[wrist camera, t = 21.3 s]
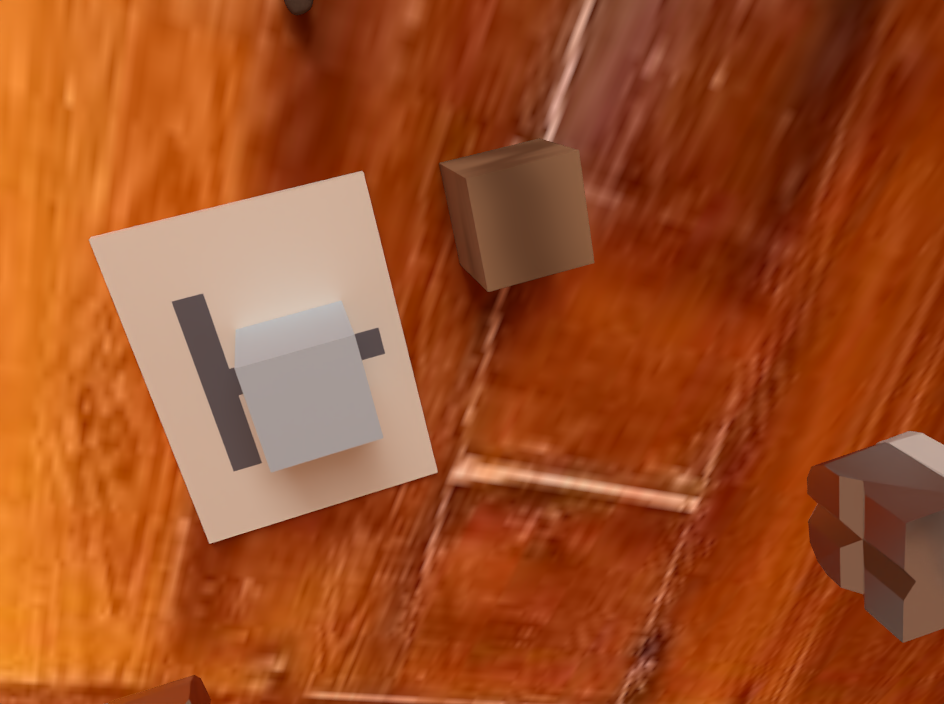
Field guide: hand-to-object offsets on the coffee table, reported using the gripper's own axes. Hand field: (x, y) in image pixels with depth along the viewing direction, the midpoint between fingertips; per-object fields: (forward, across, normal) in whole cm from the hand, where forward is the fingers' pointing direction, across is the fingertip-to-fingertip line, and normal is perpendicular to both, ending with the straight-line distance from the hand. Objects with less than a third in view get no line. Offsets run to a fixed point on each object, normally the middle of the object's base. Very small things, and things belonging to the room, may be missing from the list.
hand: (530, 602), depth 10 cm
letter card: (+29, +4, +7) cm, 30 cm away
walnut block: (+29, -8, +2) cm, 30 cm away
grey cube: (+29, +3, +7) cm, 30 cm away
